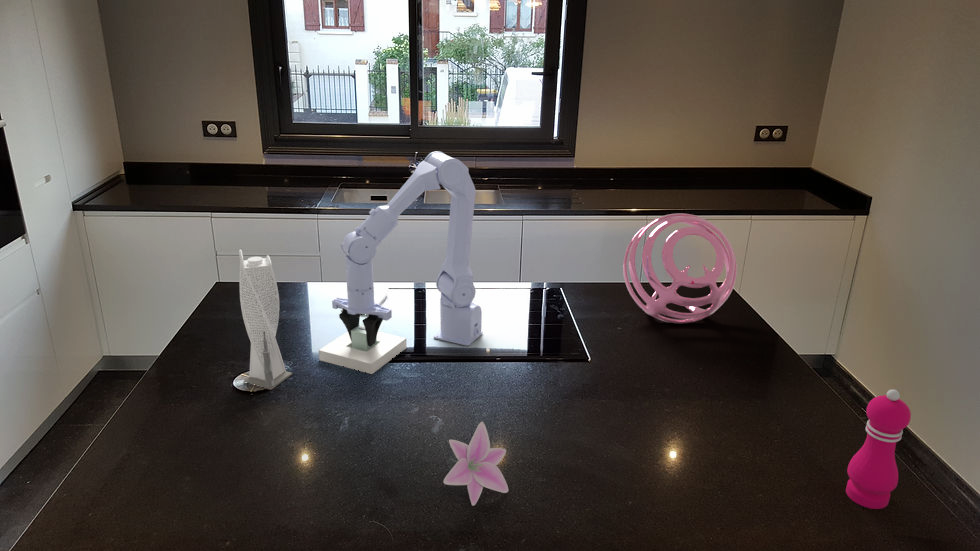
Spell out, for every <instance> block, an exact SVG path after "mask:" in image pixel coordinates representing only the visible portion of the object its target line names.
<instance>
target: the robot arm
mask: <svg viewBox="0 0 980 551" xmlns="http://www.w3.org/2000/svg"><path fill="white" fill-rule="evenodd" d="M440 185H441V186H442V187H443V188H444V189H445V190H446V192H448V193H449V194H450V207H449V220H448V230H447V245H446V254H445V257H446V258H445V261H444V262H443V263H442V264H441V266H440V272H439V273H438V276H436V280H435V281H436V282H435V286H436V288H437V290H438V291H439V292H440V299H439V300H440V302H439V303H440V305H439V306H440V310H439V311H440V313H439V314H440V330H439V331H438V332H437V333H435V334H434V335H433V339H437V340H439V341H445V342H448V343H449V342H450V343H454V344H456V345H457V344H458V345H462V346H468V347H469V346H471V345H472V343H473V342H474V341H476V340H477V339H478V338H480V336H481V335H482V334H483V331H482V317H483V316H482V307H481V306H480V305H478V304H475V303H474V302H473V300H475V299H474V298H475V297H476V293H477V292H476V287H475V285H474V275H473V272H472V270H471V267H470V255H471V253H470V252H471V245H472V233H473V232H472V231H473V225H474V224H473V221H474V213H475V212H474V211H475V202H476V201H475V200H476V187H475V185H474V182H473V180H472V178H471V175H470V173H469V167H468V166H467V165H465V163H463V162H462V161H461V160H460V159H457V158H454V157H452V156H449V155H447V154H445V153H444V152H443V151H440V150H439V151H438V150H437V151H432V152H429V153H428V155H427V156H426V157H425V158H424V160H422V161H420V162H419V163H418V165H417V166H416V168H415V170H414V171H413V173H412V174H411V175H410V176H409V178H408V179H407V180H406V182H405V183H404V184H402V186H401V187H400V189H399V190H398V191H397V192H396V193H395V195H394V196H393V197H392V198H391V200H390V201H388V203H387V204H385V205H379V206H378V205H377V207H376V208H371V209H370V211H368V214H369V216H367V217H366V219H365V220H363V221H362V223H361V224H360V225H359V226H356V227H355V228H353V231H352V232H349V233H348V234H346V235H345V236H344V238H343V240H342V243H341V244H340V249H341V250H342V252H343V253H344V254H345V273H346V275H345V276H346V290H347V291H346V292H347V298H342V297H336V298H334V299H332V301H331V306H332V309H334V310H337V309H339V310H340V309H341V310H342V309H343V311H342V313H341V312H340V314H338V316H339V319H340V320H341V322H342V323H343V324H344V327H345V329H346V332H348V333H349V336H350V339H351V330H352V329H354V328H355V327H357V326H359V325H360V320H361V319H360V318H361V315H360V314H366V315H368V316H367V317H365V318H364V319H362V324H364V326H365V330H366V335H367V343H368V346H372V345H374V344H375V342H376V337H377V333H378V332H379V330H380V327H381V324H382V323H383V321H386V322H387V321H388V320H391V319H392V312H393V311H392V309H391V308H387V307H385V306H383V305H382V304H381V305H379V304H377V303H375V302H374V293H375V292H374V290H375V287H374V286H375V285H374V266H373V259H374V258H375V256H376V253H377V248H378V247H379V245H380V244H381V243H382V242H383V241H384V240H385V239H386V238H387V237H388V236H389V234H391V233H392V231H394V229H395V228H396V227H397V226H398V225H399V216H400V215H401V214H402V213H403V212H404V211H405V210H406V209H407V208H408V207H410V205H412V203H414V202H415V200H416V199H418V198H419V197H420V196H421V195H422V194H423V193H424V192H426V191H436V190H437V191H438V190H441V186H440ZM366 315H365V316H366ZM351 342H352V339H351Z"/></svg>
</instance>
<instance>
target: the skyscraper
mask: <svg viewBox="0 0 980 551" xmlns="http://www.w3.org/2000/svg"><path fill="white" fill-rule="evenodd" d="M238 255H239V301H240V308H241V314H242V319H243V323H244V326H245V329H246V333H247V336H248V339H249V340H250V354H249V355H250V356H249V357H250V358H249V377H247V378H246V379H245V380H243V383H244V382H247V383H252V384H255V385H259V386H262V387H265V388H264V389H266V388H267V389H266V390H270V391H271V390H273V389H274V388H276V387H277V386H279V385H280V384H281V383H282V382H284V381H286V380H287V379H289V378H290V377H291V376H292V375H293V372H291V371H288V370H286V367H285V364H284V363H285V362H284V359H283V358H282V354H281V351H280V347H279V345H278V342H277V338H276V336H277V330H278V326H279V319H280V295H279V289H278V283H277V280H276V275H275V271H274V268H273V264H272V260H271V257H270V256H269V255H268V254H267V255H266V257H264V258H263V257H262V256H251V257H248V258H247V259H245V260H244V256H243V251H242V249H239V250H238ZM262 387H261V388H262Z"/></svg>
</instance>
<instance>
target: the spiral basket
mask: <svg viewBox="0 0 980 551" xmlns="http://www.w3.org/2000/svg"><path fill="white" fill-rule="evenodd" d="M678 223H679V224H685V225H687V226H686V227H685V226H684V227H681V228H679V229H677V230H675V231H673V232H672V233H671V234H670V235H669V236H668V237H667V238H666V240H665V241H664V243H663V246H662V251H661V260H662V265H663V267H664V270H665V272H666V273H667V275H668V276H669V277H670V278H671V279H672V283H671V284H670V286H665V285H663V284H662V282H661V281H660V279H659V277H658V276H657V275H656V273H655V271H654V270H655V269H654V268H653V262H652V251H653V247H654V243H655V242H656V240H657V238H658V236H659V235H660V234H661V233H662V232H663V231H664V230H665V229H667V228H668V227H670V226H672V225H675V224H678ZM655 226H656V227H655ZM652 227H654V229H652V231H651V232H650V233H649V234H648V235H647V237H646V240H645V242H644V244H643V248H642V254H641V260H642V261H641V262H642V269H643V272H644V276H645V278H646V280H647V281H648V283H649V285H650V286H651V287H652V289H653V290H654V293H653V294H652V296H650V295H649V294H648V293H647V291H646V290H645V289H644V288H643V286H642V284H641V281H640V279H639V276H638V274H637V267H636V254H637V250H638V246H639V243H640V241H641V239H642V237H643V236H644V234H646V233H647V231H648V230H650V228H652ZM687 236H697V237H701V238H704V239H705V240H707V242H709V243H710V245H711V246H712V247H713V249H714V251H715V256H716V261H715V265H714V266H713V268H712V270H710V269H708V268H707V267H706V265H705V264H702V269H703V272H704V275H703V276H699V277H695V276H694V277H693V276H690V275H688V271H689V269H690V267H691V265H690V264H688V265H687V266H686V267H685V268H684V269H683V270H680V269H679V268H678V267H677V265H676V263H675V260H674V257H673V256H674V255H673V254H674V249H675V246H676V244H677V243H678V242H679V241H680V240H681V239H682V238H684V237H687ZM622 264H623V265H622V272H623V273H622V274H623V280H624V282H625V283H624V284H625V285H626V288H627V291H628V292H629V295H630V297H631V298H632V299H633V300H634V302H635V303H636V305H637V306H638V307H639V308H640V309H642V311H644V312H645V314H647V315H648V316H650V317H653V318H655V319H657V320H660V321H662V322H666V323H669V324H670V323H673V324H690V323H694V322H697V321H700V320H703V319H706V318H707V317H709V316H711V315H714V313H715V312H716V311H717V310H718V309H719V308H721V306H723V304H724V303H725V302H726V301H727V300H728V298H730V295H731V293H732V291H733V290H734V288H735V284H736V280H737V275H738V265H737V257H736V254H735V251H734V248H733V246H732V244H731V242H730V241H729V239H728V237H727V236H726V235H725V234H724V232H723V231H721V229H720V228H719V227H717V226H716V225H715V224H714V223H712V222H711V221H708V220H707V219H705V218H703V217H701V216H699V215H695V214H689V213H682V212H681V213H679V212H678V213H671V214H669V213H668V214H665V215H662V216H660V217H657V218H655V219H653V220H651V221H650V222H649V223H647V224H646V225H645V226H643V227H641V228H640V229H639V230H638V231H637V232H636V233H635V235H633V236H632V238H631V239H630V242H628V245H627V247H626V250H625V253H624V257H623V262H622ZM724 266H725V279H724V281H723V283H722V284H721V285H720V286H719V287H718V285H717V280H718V278H719V277H720V276H721V274H722V272H723V270H724ZM628 270H629V272H628ZM628 273H629V274H628ZM629 275H630V279H629ZM630 280H631V281H632V285H633V287H634V289H635V290H636V292H637V294H638V295H639V296H640V297H641V299H642V300H643V301H644V303H646V304H644V303H643V302H642V301H641V300H640V299H639V298H638V296H637V295H636V293H635V292H634V290H633V287H632V285H631V283H630ZM681 286H683V287H687V288H692V289H700V288H705V287H709V288H710V293H709V294H708V295H705V296H701V297H695V298H694V297H693V298H692V297H684V296H681V295H679V294H678V293H677V290H678V289H679V288H680V287H681ZM657 296H658V298H657ZM656 298H657V299H656ZM668 304H675V305H678V306H681V307H684V308H686V309H687V310H688V311H689V312H681V311H680V312H679V311H674V310H672V309H669V308H668V307H667V305H668ZM709 304H711V306H709V307H708V308H706V309H704V308H700V307H702V306H707V305H709ZM663 315H664V316H663ZM665 316H667V317H665ZM669 317H671V318H669Z"/></svg>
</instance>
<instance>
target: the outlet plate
mask: <svg viewBox="0 0 980 551" xmlns="http://www.w3.org/2000/svg"><path fill="white" fill-rule="evenodd" d="M406 349H408V348H407V337H403V336H399V335H394V334H390V333H386V332H381V331H378V333H377V345H375V346H374V347H372V348H371V349H370V350H368V351H367V352H366V351H362V350H358V349H354V348H352V342H351V339H350V336H349V333H348V331H346V332H345V333H343V334H341V335H340V336H338V337H337V338H335V339H334V340H332V341H331V342H329V343H327V344H326V345H325V346H324V345H323V347H321V348H320V349H318V360H319V361H321V362H325V363H329V364H333V365H336V366H339V367H343V366H344V367H343V368H347V369H351V370H354V369H355V370H354V371H358V370H359V371H360V372H362V373H365V372H366V373H365V374H370V375H373V374H374V373H375V372H377V371H378V370H380V369H381V368H382V367H384V366H385V365H386V364H387V363H389V362H390V361H392V358H393V359H394V358H395V357H397V356H398V355H399V354H401V353H402V352H403V351H404V350H406ZM400 352H401V353H400ZM396 355H397V356H396ZM359 371H358V372H359Z"/></svg>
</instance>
